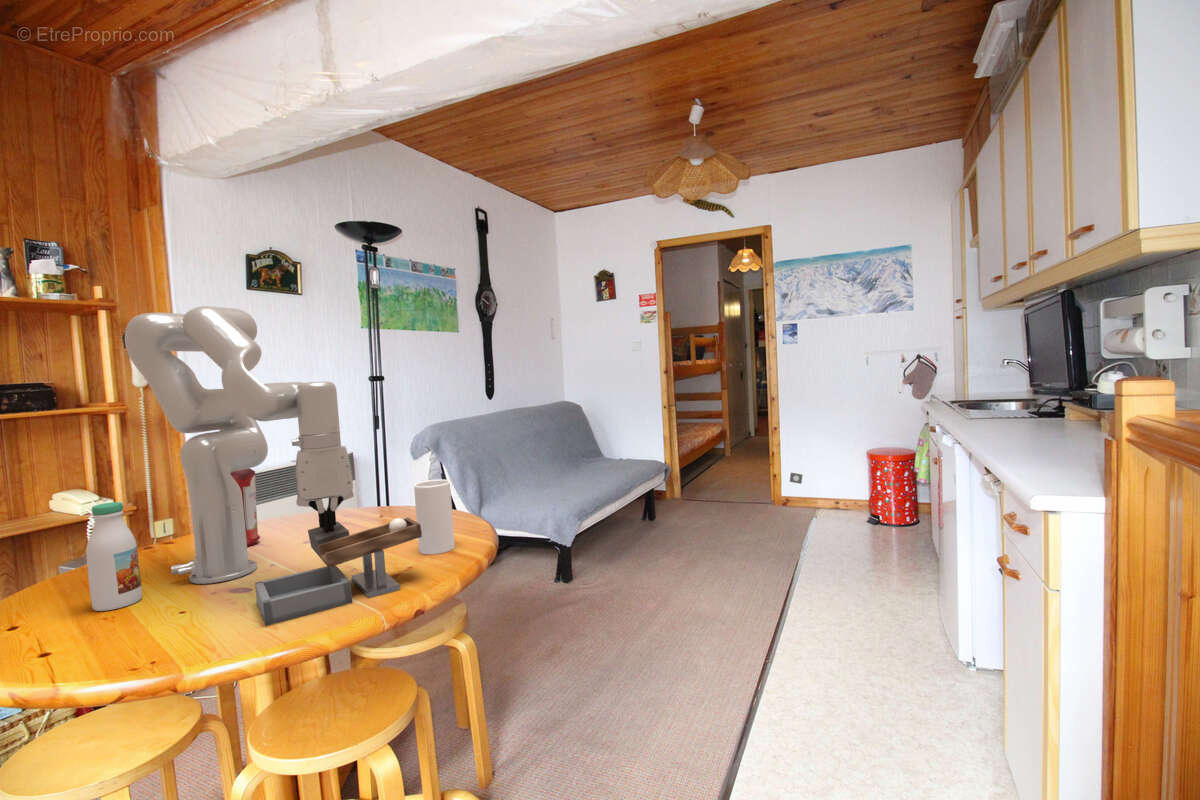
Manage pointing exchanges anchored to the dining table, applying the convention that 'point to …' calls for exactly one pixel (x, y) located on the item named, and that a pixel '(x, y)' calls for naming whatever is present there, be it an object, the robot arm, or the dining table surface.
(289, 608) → the tray
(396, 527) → the ball
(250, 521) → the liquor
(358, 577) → the pivot stand
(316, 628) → the dining table surface
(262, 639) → the dining table surface
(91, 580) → the milk bottle
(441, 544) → the cup
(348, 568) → the dining table surface
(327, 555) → the trough
